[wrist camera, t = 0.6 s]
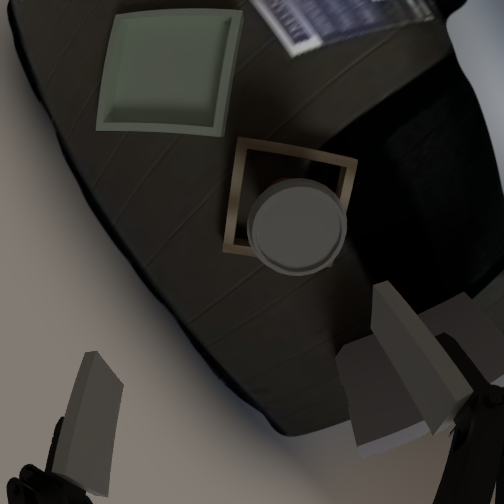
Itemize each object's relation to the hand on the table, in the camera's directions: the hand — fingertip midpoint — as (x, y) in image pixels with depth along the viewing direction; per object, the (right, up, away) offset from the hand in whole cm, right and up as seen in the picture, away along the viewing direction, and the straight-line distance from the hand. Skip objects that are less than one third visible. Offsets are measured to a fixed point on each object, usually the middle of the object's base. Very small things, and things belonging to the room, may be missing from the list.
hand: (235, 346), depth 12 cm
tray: (-9, +27, +18) cm, 33 cm away
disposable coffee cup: (+5, +11, +25) cm, 27 cm away
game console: (+28, -10, +33) cm, 45 cm away
